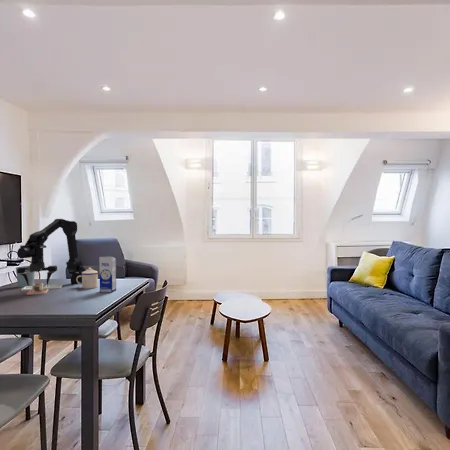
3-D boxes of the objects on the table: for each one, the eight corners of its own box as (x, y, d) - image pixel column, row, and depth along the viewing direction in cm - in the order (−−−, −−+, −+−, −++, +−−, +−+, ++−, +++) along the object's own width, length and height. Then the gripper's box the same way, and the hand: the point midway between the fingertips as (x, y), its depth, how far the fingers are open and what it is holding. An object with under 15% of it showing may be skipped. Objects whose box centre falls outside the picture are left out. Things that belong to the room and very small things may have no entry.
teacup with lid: (98, 285, 210) (97, 266, 210) (98, 288, 202) (98, 268, 201) (76, 286, 206) (76, 267, 206) (76, 289, 197) (75, 269, 197)
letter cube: (43, 291, 191) (43, 283, 190) (41, 292, 186) (41, 284, 186) (34, 291, 189) (34, 283, 189) (32, 293, 185) (32, 285, 185)
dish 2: (48, 291, 193) (48, 288, 193) (45, 294, 185) (45, 292, 185) (30, 292, 191) (30, 289, 191) (26, 295, 182) (26, 293, 182)
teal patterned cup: (28, 288, 203) (28, 267, 203) (12, 288, 203) (11, 268, 203) (38, 284, 213) (38, 265, 213) (22, 285, 213) (22, 265, 213)
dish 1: (42, 287, 204) (42, 285, 204) (39, 290, 196) (39, 288, 195) (25, 288, 201) (25, 286, 201) (21, 291, 193) (21, 289, 193)
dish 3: (62, 286, 207) (62, 284, 207) (60, 289, 199) (60, 286, 199) (46, 287, 205) (46, 285, 205) (43, 290, 196) (43, 287, 196)
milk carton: (99, 292, 189) (99, 256, 189) (104, 290, 196) (103, 255, 195) (112, 292, 189) (111, 256, 188) (116, 290, 195) (116, 255, 195)
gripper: (13, 258, 177) (14, 289, 177) (53, 257, 183) (54, 286, 183) (19, 256, 188) (20, 285, 188) (57, 255, 193) (57, 283, 194)
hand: (37, 285), depth 188 cm, fingers open, 9 cm apart
